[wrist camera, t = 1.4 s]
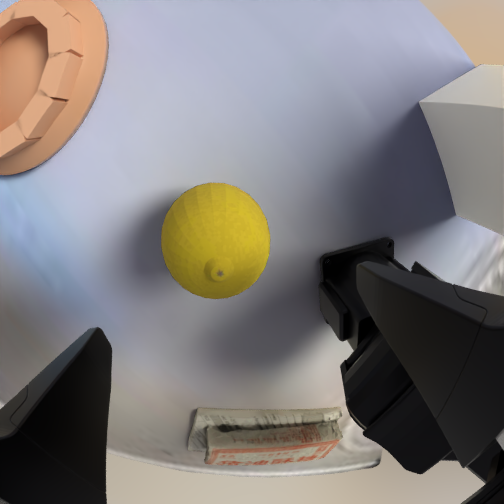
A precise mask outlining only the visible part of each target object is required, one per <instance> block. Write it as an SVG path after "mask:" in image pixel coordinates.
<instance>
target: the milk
mask: <svg viewBox="0 0 504 504" xmlns="http://www.w3.org/2000/svg"><path fill="white" fill-rule="evenodd" d="M419 104H420V107H421V109H422V111H423V114H424V116H425V118H426V121H427V123H428V126H429V128H430V131H431V133H432V136H433V139H434V141H435V144H436V147H437V150H438V153H439V156H440V159H441V162H442V165H443V168H444V171H445V175H446V178H447V182H448V185H449V189H450V193H451V197H452V201H453V205H454V209H455V213H456V215H457V216H459V217H462V218H464V219H466V220H469V221H471V222H474V223H476V224H478V225H481V226H483V227H485V228H488V229H490V230H492V231H494V232H496V233H499V234H501V235H503V236H504V65H489V64H488V65H487V64H480V65H479V66H477V67H475V68H474V69H472V70H470V71H468V72H467V73H465V74H463V75H462V76H460V77H458V78H457V79H455V80H453V81H452V82H450V83H448V84H447V85H445V86H443V87H442V88H440V89H438V90H437V91H435V92H434V93H432V94H430V95H429V96H427V97H426V98H424V99H422V100H421V101H419Z"/></svg>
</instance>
